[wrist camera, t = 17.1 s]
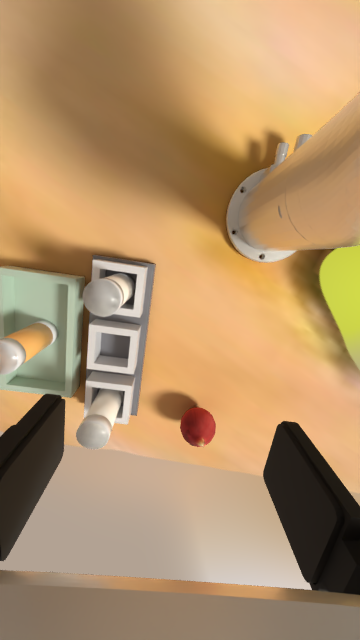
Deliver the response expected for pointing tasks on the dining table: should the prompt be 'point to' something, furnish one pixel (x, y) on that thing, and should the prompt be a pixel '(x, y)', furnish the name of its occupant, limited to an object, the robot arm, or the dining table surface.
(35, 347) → the marked fuse
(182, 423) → the onion
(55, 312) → the tray
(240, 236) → the robot arm
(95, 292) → the cylinder
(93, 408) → the cylinder
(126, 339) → the fuse holder
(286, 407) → the dining table surface
